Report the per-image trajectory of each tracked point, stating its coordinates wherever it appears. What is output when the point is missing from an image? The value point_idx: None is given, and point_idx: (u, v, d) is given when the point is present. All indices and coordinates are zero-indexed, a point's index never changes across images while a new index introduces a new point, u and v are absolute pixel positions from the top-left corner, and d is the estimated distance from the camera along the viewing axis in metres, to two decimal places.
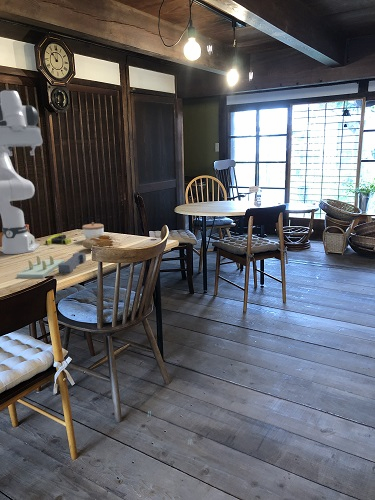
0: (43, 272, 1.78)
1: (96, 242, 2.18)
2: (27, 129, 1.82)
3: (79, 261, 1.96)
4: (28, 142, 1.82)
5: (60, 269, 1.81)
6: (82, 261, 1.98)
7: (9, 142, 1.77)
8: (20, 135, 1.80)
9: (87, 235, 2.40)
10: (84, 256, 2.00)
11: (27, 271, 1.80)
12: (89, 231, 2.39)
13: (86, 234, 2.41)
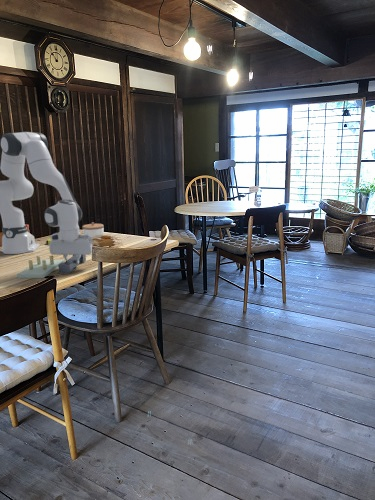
0: (43, 272, 1.78)
1: (98, 242, 2.18)
2: (78, 241, 1.87)
3: (79, 261, 1.96)
4: (77, 253, 1.88)
5: (60, 269, 1.81)
6: (82, 261, 1.98)
7: (61, 253, 1.89)
8: (71, 246, 1.88)
9: None
10: (84, 256, 2.00)
11: (27, 271, 1.80)
12: (89, 231, 2.39)
13: (86, 234, 2.41)
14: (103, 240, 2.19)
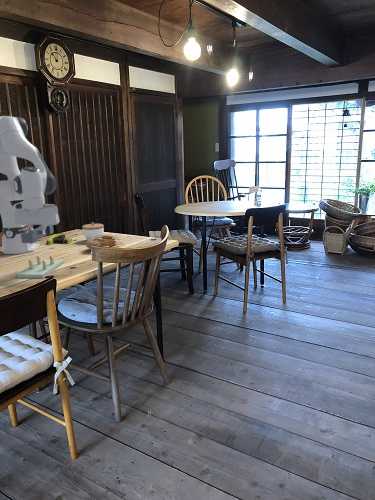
0: (43, 272, 1.78)
1: (100, 242, 2.17)
2: (42, 210, 1.79)
3: (45, 232, 1.89)
4: (42, 223, 1.81)
5: (23, 239, 1.74)
6: (49, 233, 1.91)
7: (25, 223, 1.82)
8: (36, 216, 1.80)
9: (87, 235, 2.40)
10: (51, 228, 1.92)
11: (27, 271, 1.80)
12: (89, 231, 2.39)
13: (86, 234, 2.41)
14: (105, 240, 2.19)
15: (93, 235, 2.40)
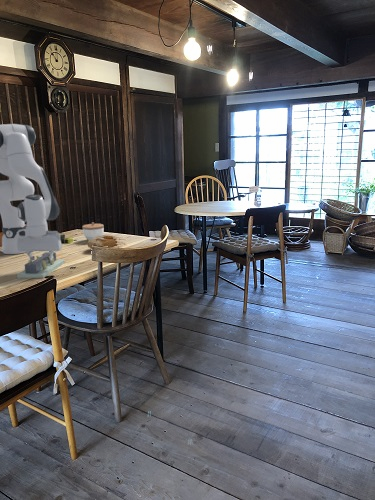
0: (43, 272, 1.78)
1: (102, 242, 2.17)
2: (45, 237, 1.82)
3: (48, 261, 1.92)
4: (45, 250, 1.84)
5: (27, 269, 1.77)
6: None
7: (28, 249, 1.85)
8: (39, 243, 1.83)
9: (87, 235, 2.40)
10: (54, 256, 1.96)
11: None
12: (89, 231, 2.39)
13: (86, 234, 2.41)
14: (106, 240, 2.19)
15: (93, 235, 2.40)
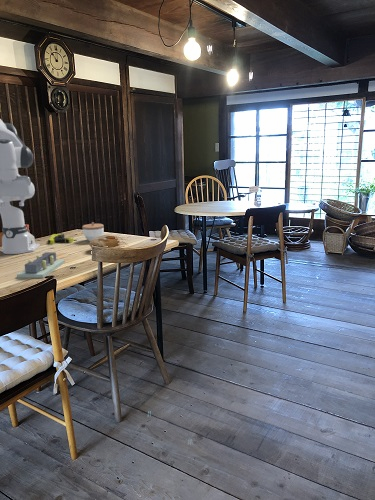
0: (43, 272, 1.78)
1: (105, 242, 2.17)
2: (15, 181, 1.83)
3: (48, 261, 1.92)
4: (16, 195, 1.85)
5: (27, 269, 1.77)
6: None
7: None
8: (9, 188, 1.84)
9: (87, 235, 2.40)
10: (54, 256, 1.96)
11: None
12: (89, 231, 2.39)
13: (86, 234, 2.41)
14: (109, 240, 2.18)
15: (93, 235, 2.40)
